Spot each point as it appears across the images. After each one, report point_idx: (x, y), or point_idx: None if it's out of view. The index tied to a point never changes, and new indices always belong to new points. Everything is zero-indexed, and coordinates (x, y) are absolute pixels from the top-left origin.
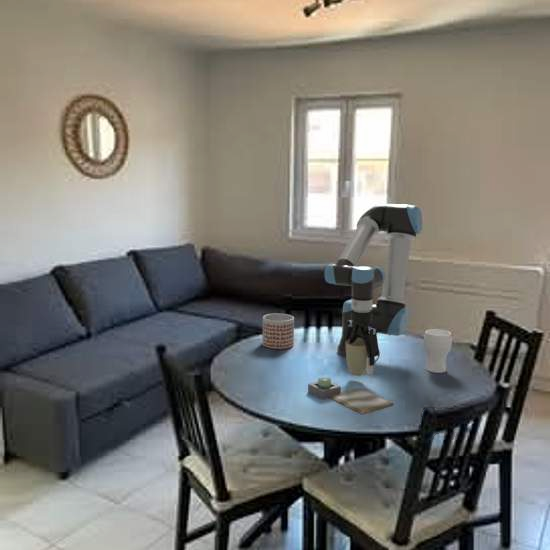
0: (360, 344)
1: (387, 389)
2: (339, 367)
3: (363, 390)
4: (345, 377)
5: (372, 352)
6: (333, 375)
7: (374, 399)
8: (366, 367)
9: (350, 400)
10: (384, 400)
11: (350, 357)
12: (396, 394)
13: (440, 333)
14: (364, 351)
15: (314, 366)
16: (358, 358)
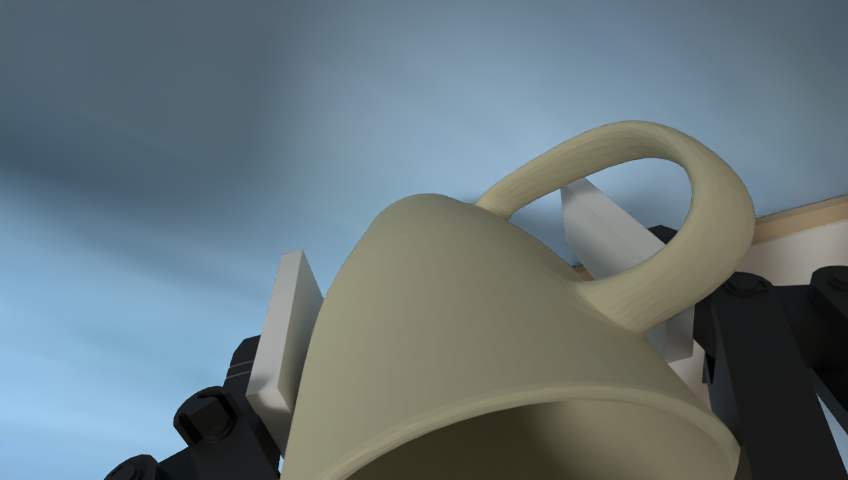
0: (339, 384)
1: (676, 74)
2: (62, 222)
3: None
4: (324, 268)
5: (843, 399)
6: (261, 329)
7: (782, 277)
8: (595, 277)
9: (704, 393)
10: (834, 228)
11: (507, 463)
12: (788, 61)
13: None
14: (670, 435)
15: (31, 387)
16: (585, 413)
